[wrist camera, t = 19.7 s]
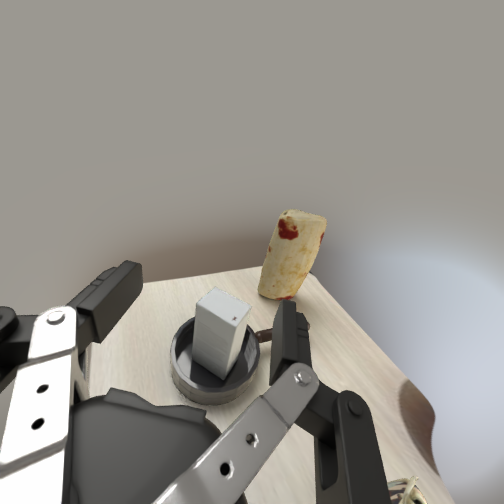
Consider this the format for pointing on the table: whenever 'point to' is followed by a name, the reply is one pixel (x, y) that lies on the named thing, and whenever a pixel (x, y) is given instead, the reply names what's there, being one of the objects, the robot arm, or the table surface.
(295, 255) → the food model
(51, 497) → the robot arm
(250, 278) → the table surface
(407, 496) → the pencil case
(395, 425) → the table surface
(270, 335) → the pan handle
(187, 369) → the frying pan
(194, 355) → the cosmetic box
